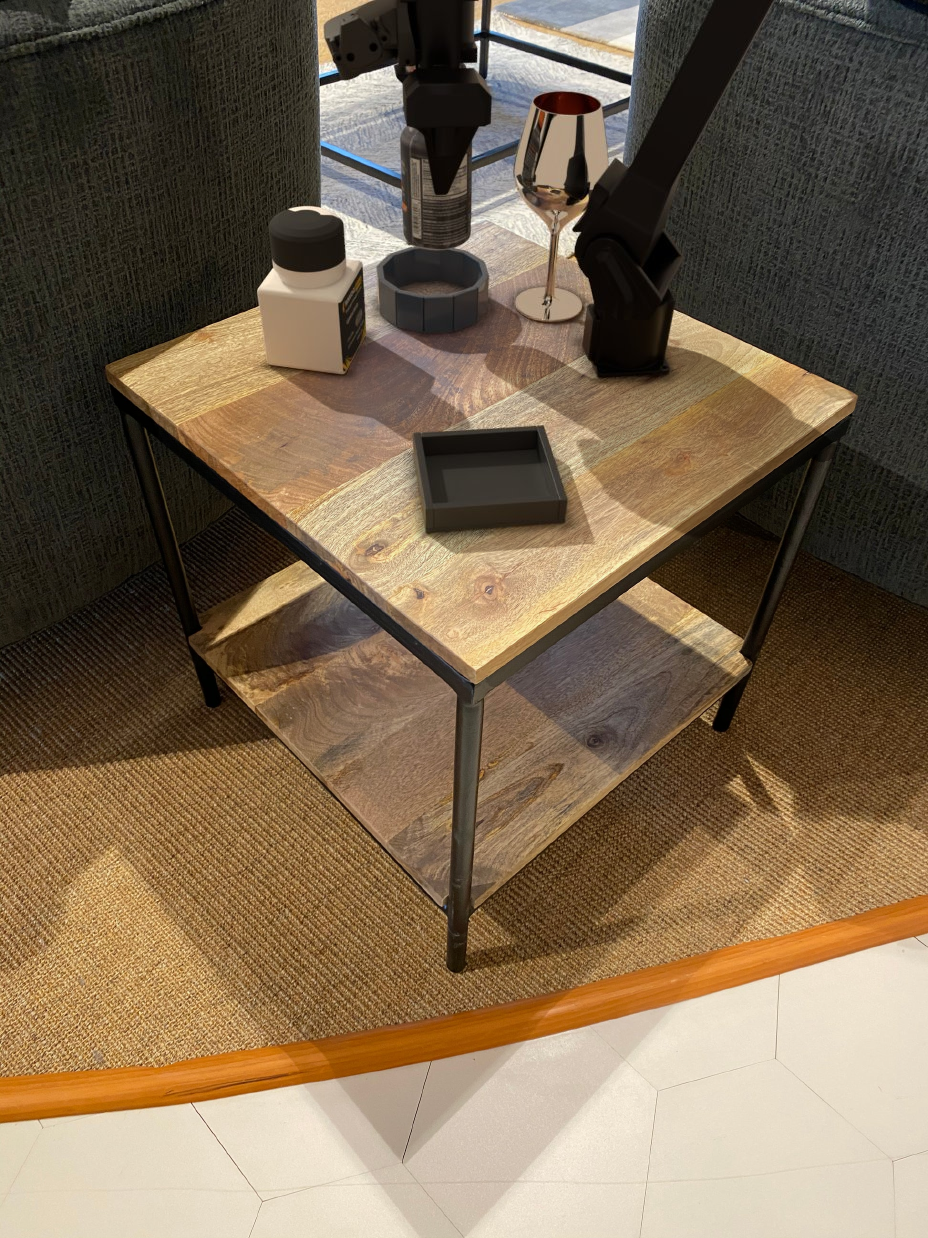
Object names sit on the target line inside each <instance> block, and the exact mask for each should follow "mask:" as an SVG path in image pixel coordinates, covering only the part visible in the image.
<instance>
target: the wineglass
mask: <svg viewBox="0 0 928 1238" xmlns="http://www.w3.org/2000/svg"><path fill="white" fill-rule="evenodd" d="M604 118H605V117H604V112H603V104H602V102H601V100H600V99H599V98H598V97H595V96H593V95H590V94H587V93H583V92H578V91H571V90H553V91H547V92H543V93H540V94H538V95H536V96H534V97H533V98H532V101H531V104H530V107H529V110H528V113H527V115H526V119H525V122H524V125H523V127H522V132H521V135H520V138H519V142H518V145H517V149H516V152H515V157H514V162H513V169H512V172H513V173H512V174H513V181H514V182H513V183H514V184H515V188H516V191H517V193H518V195H519V196H520V198H521V199H522V201H523V202H524V203H525V205H526V206H527V207H528V208H529V209H530V210H531V211H532V212H533V213H534V214H535V215H536V216H538V217H539V218H540V219H541V221H543V223H544V224H545V225H546V227H547V229H548V230H549V234H550V235H549V248H548V249H549V250H548V260H547V271H546V281H545V286H538V287H533V288H529V289H526V290H524V291H522V292H520V293H519V294H518V295H517V296H516V298H515V300H514V305H515V308H516V310H517V311H518V313H520V314H521V315H523V316H524V317H526V318H528V319H531V320H533V321H534V320H535V321H537V322H538V321H539V322H543V323H560V322H565V321H569V320H571V319H574V318H576V317H577V316H578V315H579V314H581V312H582V309H583V303H582V301H581V299H580V298H579V296H577V295H576V294H575V293H573V292H570V291H569V290H566V289H563V288H558V287H556V273H557V262H558V253H559V251H558V250H559V241H560V234H561V232H562V231H563V229H564V228H565V227H567V225H568V224H569V223H571V222H572V221H573V220H575V219H577V218H578V217H580V216H582V215H583V213H584V212H585V211H586V209H587V206H588V203H589V199H590V196H591V193H592V190H593V187H594V185H595V184H596V182H597V181H598V180H599V178H600V177H601V176H602V174H603V173H604V172H605V170H606V169H607V168H608V166H609V165H610V163H609V151H608V142H607V134H606V127H605V126H606V125H605V119H604Z"/></svg>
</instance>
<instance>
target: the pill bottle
mask: <svg viewBox="0 0 928 1238" xmlns="http://www.w3.org/2000/svg"><path fill="white" fill-rule="evenodd" d="M399 137H400V138H399V148H400V150H399V151H400V153H399V155H400V174H401V175H400V179H401V181H400V182H401V209H402V229H403V230H402V231H403V232H402V233H403V237H404V239H405V240H406V241H407V243H409V244H410V245H412V246H416V247H419V248H422V249H428V250H447V249H452V248H458V247H460V246H462V245H464V244H465V243H466V242H467V241H469V239H470V237H471V234H472V211H473V210H472V209H473V208H472V205H473V204H472V203H473V201H472V200H473V199H472V197H473V195H472V194H473V190H472V189H473V141H472V142H471V144H470V146H469V148H468V150H467V152H466V155H465V157H464V159H463V161H462V163H461V166H460V168H459V170H458V172H457V175H456V177H455V179H454V181H453V184H452V186H451V188H450V190H449V193H448V194H447V195H435V193H434V189H433V184H432V179H431V173H430V168H429V163H428V157H427V152H426V147H425V141H424V136H423V135H422V133H420V132H419V131H418V130H417V129H416V128H412V127H409V126H407V125H406V126H405V127H404V128H403V129H402V131H401V133H400V136H399Z"/></svg>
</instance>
